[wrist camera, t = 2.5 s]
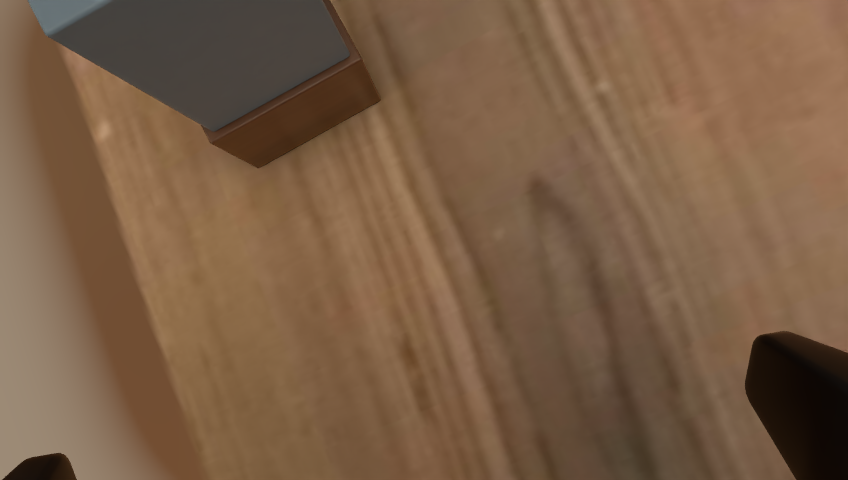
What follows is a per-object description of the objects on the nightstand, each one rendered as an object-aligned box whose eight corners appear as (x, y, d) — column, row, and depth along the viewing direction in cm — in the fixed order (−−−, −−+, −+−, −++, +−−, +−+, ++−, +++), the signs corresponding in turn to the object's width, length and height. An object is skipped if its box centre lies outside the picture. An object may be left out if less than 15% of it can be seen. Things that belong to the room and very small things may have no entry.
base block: (381, 100, 21) (362, 59, 17) (258, 169, 21) (210, 144, 17) (315, -21, 21) (281, -88, 17) (194, 48, 22) (133, -4, 18)
